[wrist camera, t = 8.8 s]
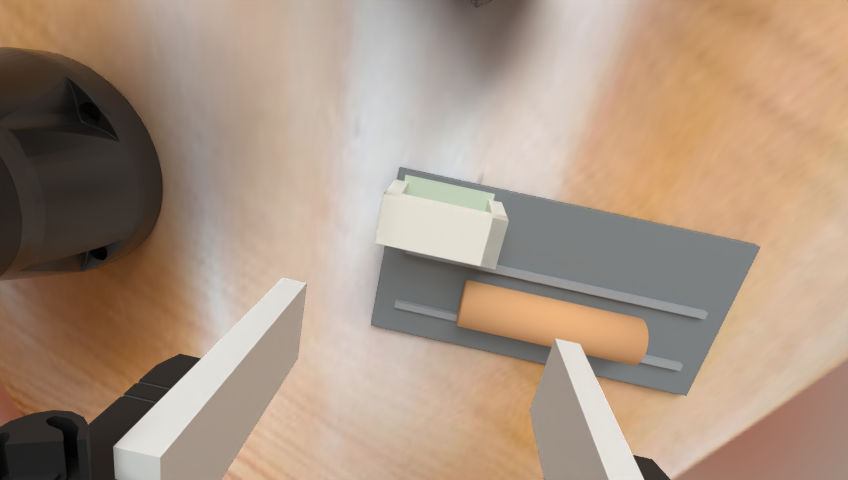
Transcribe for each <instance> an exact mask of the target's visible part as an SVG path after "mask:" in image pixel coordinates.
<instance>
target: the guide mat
mask: <svg viewBox="0 0 848 480" xmlns="http://www.w3.org/2000/svg"><path fill="white" fill-rule="evenodd" d="M397 180H401V181H406V182H408V187H407V192H406V195H411V196H415V197H420V198H425V199H429V200H434V201H438V202H443V203H448V204H452V205H457V206H461V207H466V208H471V209H475V210H480V211H484V212H485V211H486V207H487V203H488V199H489V200H493V201H498V202H502V204H503V207H504V210H505V212H506V215H507V218H508V220H509V222H508V226H507V229H506V233H505V237H504V240H503V244H502V247H501V251H500V254H499V258H498V262H497V265H496V269H490V268H486V267H481V266H477V265H472V264H468V263H463V262H458V261H454V260H449V259H445V258H440V257H436V256H431V255H427V254H422V253H418V252H413V251H409V250H404V249H400V248H395V247H390V246H386V245H385V249H384V255H383V260H382V266H381V271H380V277H379V282H378V288H377V293H376V299H375V304H374V310H373V315H372V321H371V325H372V326H377V327H381V328H386V329H390V330H395V331H399V332H404V333H408V334H413V335H417V336H422V337H426V338H431V339H435V340H439V341H444V342H448V343H453V344H457V345H462V346H466V347H471V348H475V349H480V350H484V351H489V352H493V353H498V354H502V355H506V356H511V357H515V358H520V359H524V360H529V361H533V362H538V363H542V364H546V362H547V360H548V357H549V354H550V351H551V348H552V347H549V346H544V345H540V344H535V343H531V342H526V341H522V340H517V339H513V338H508V337H504V336H499V335H495V334H490V333H486V332H481V331H477V330H473V329H468V328H464V327H459V326H457V325H456V321H457V313H458V307H459V302H460V297H461V293H462V289H463V286H464V283H465V281H466V280H471V281H475V282H480V283H484V284H489V285H493V286H498V287H503V288H507V289H512V290H516V291H521V292H525V293H530V294H534V295H539V296H543V297H548V298H552V299H557V300H561V301H566V302H570V303H575V304H579V305H584V306H588V307H593V308H597V309H602V310H606V311H611V312H616V313H620V314H625V315H629V316H634V317H638V318H641V319H643V320H644V321H645V323H646V325H647V328H648V336H649V339H648V347H647V351H646V353H645V356H644V358H643V359H642V361H641V362H640V363H639V364H637V365H629V364H625V363H620V362H616V361H611V360H607V359H602V358H598V357H593V356H589V355H585V356H586V358H587V360H588V362H589V364H590V366H591V368H592V370H593V372H594V375H596V376H600V377H605V378H609V379H614V380H618V381H623V382H627V383H632V384H636V385H641V386H645V387H649V388H654V389H658V390H663V391H667V392H672V393H676V394H681V395H685V396H687V394H688V392H689V390H690V388H691V386H692V384H693V382H694V380H695V378H696V376H697V374H698V372H699V370H700V367H701V365H702V363H703V361H704V359H705V357H706V355H707V353H708V351H709V349H710V347H711V345H712V343H713V341H714V339H715V337H716V335H717V333H718V331H719V329H720V327H721V325H722V323H723V321H724V319H725V317H726V315H727V313H728V311H729V309H730V307H731V305H732V303H733V301H734V299H735V297H736V295H737V293H738V291H739V289H740V287H741V285H742V283H743V281H744V279H745V277H746V275H747V273H748V271H749V269H750V267H751V265H752V263H753V261H754V259H755V257H756V255H757V253H758V251H759V249H760V247H759V246H757V245H755V244H752V243H748V242H743V241H738V240H734V239H729V238H725V237H720V236H715V235H711V234H706V233H701V232H697V231H692V230H688V229H683V228H678V227H674V226H669V225H665V224H660V223H655V222H651V221H646V220H642V219H637V218H632V217H628V216H623V215H619V214H614V213H609V212H605V211H600V210H595V209H591V208H586V207H582V206H577V205H572V204H568V203H563V202H559V201H554V200H549V199H545V198H540V197H536V196H531V195H526V194H522V193H517V192H513V191H508V190H503V189H499V188H494V187H489V186H485V185H480V184H476V183H471V182H466V181H462V180H457V179H453V178H448V177H443V176H439V175H434V174H430V173H425V172H420V171H416V170H411V169H407V168H402V167H400V168H399V172H398V178H397Z"/></svg>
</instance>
